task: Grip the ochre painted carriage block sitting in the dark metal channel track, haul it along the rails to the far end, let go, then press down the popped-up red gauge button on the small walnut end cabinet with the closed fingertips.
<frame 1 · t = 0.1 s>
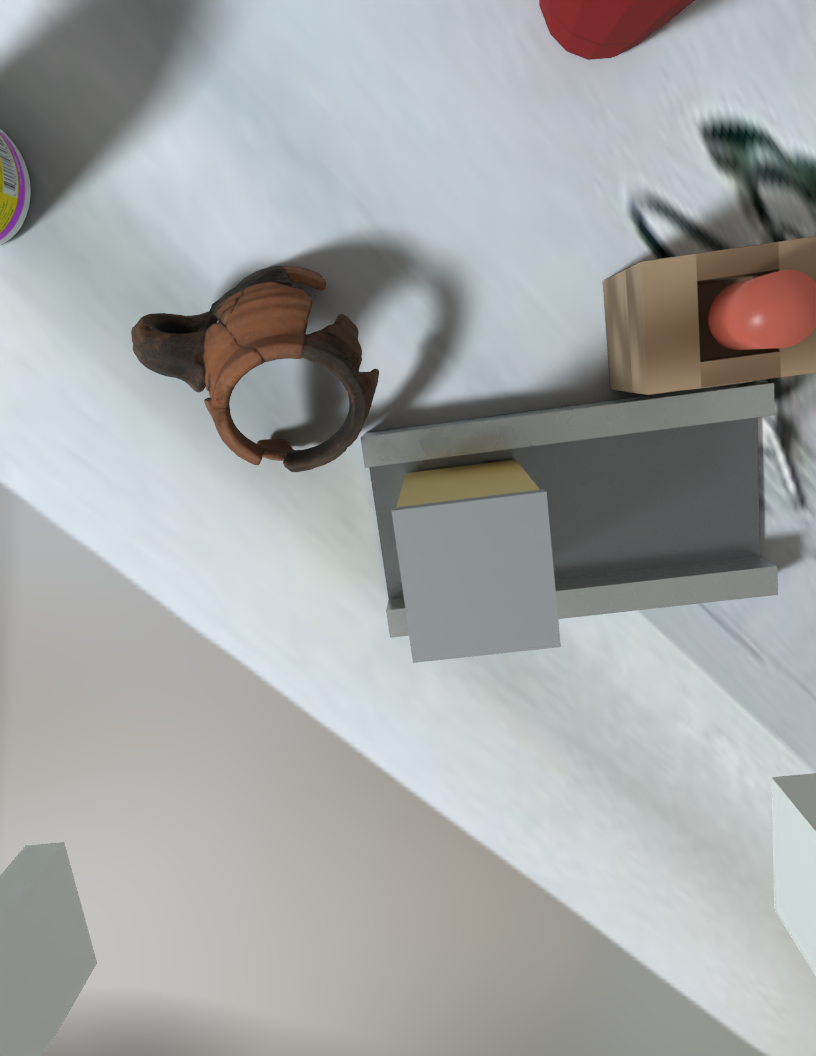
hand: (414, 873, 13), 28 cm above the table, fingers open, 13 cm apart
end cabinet: (683, 325, 37), on the table
gauge button: (761, 312, 28), point 9 cm above the table, slide at 0.0 cm
track: (563, 508, 39), on the table
carriage: (471, 547, 34), point 6 cm above the table, slide at 0.0 cm
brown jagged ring: (274, 360, 38), on the table
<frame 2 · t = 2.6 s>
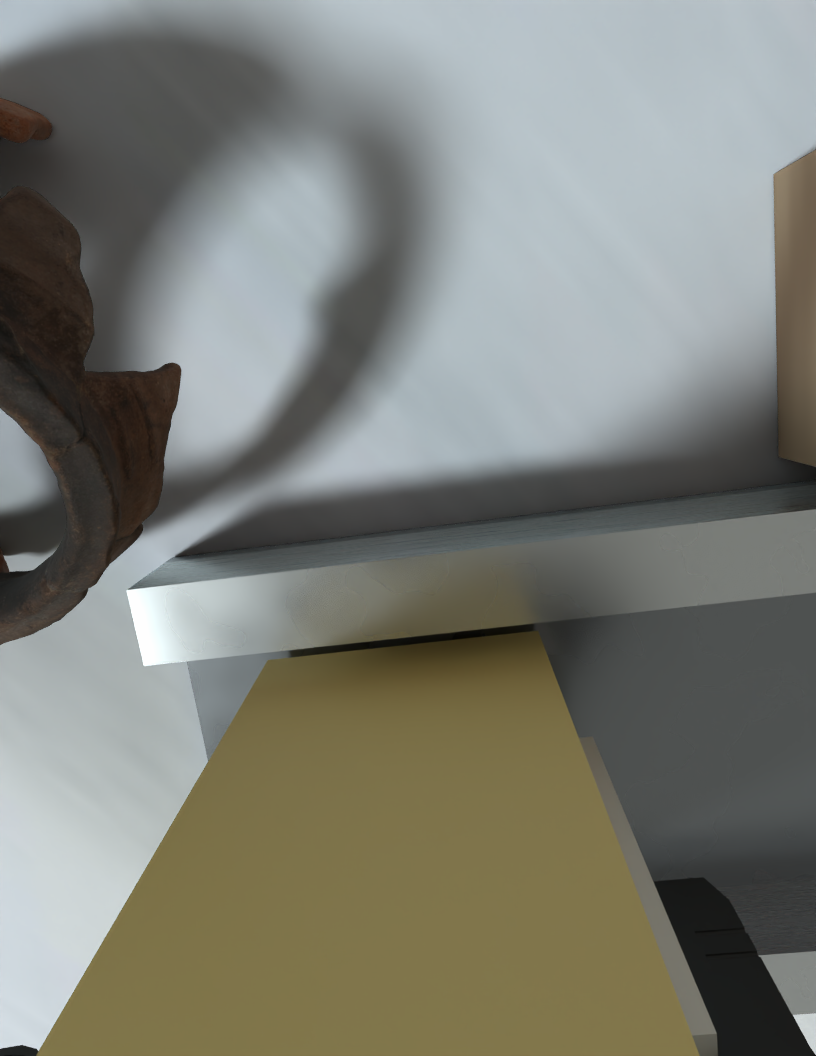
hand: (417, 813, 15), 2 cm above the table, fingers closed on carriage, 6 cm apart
track: (652, 734, 16), on the table
carriage: (410, 968, 11), point 6 cm above the table, slide at 0.0 cm, touching gripper
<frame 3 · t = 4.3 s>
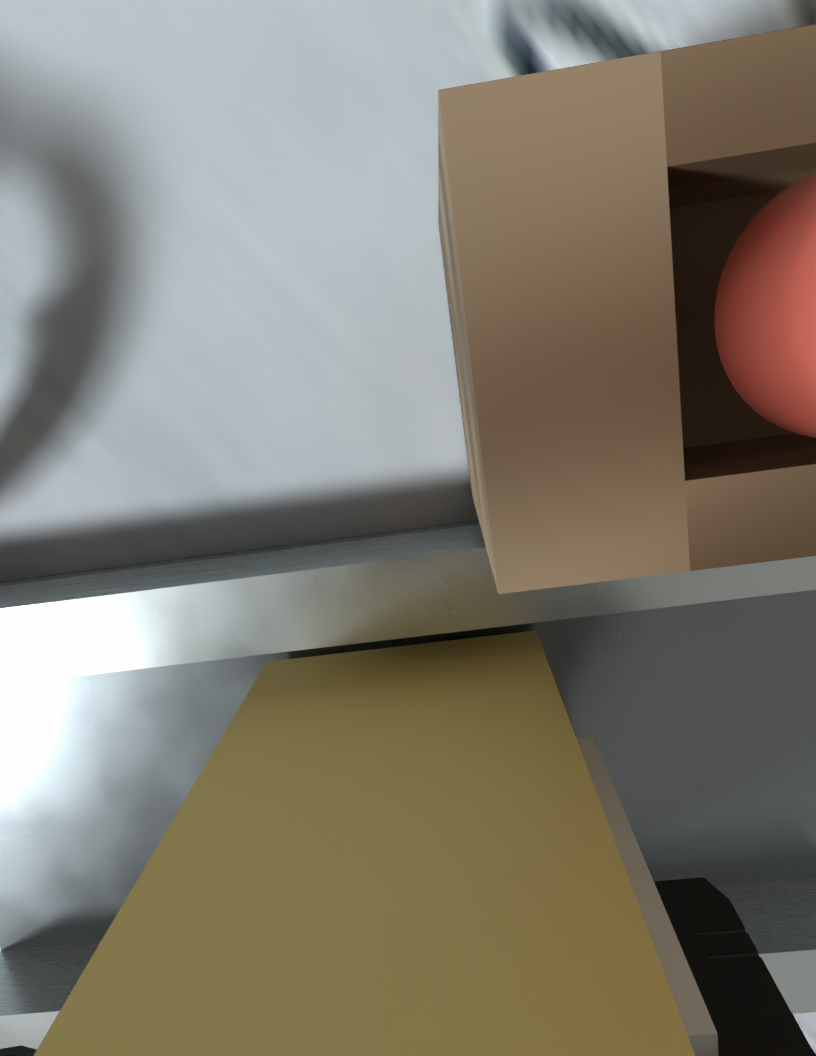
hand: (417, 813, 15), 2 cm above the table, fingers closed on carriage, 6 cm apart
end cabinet: (647, 337, 14), on the table
track: (379, 761, 17), on the table
carriage: (409, 968, 11), point 6 cm above the table, slide at 6.5 cm, touching gripper
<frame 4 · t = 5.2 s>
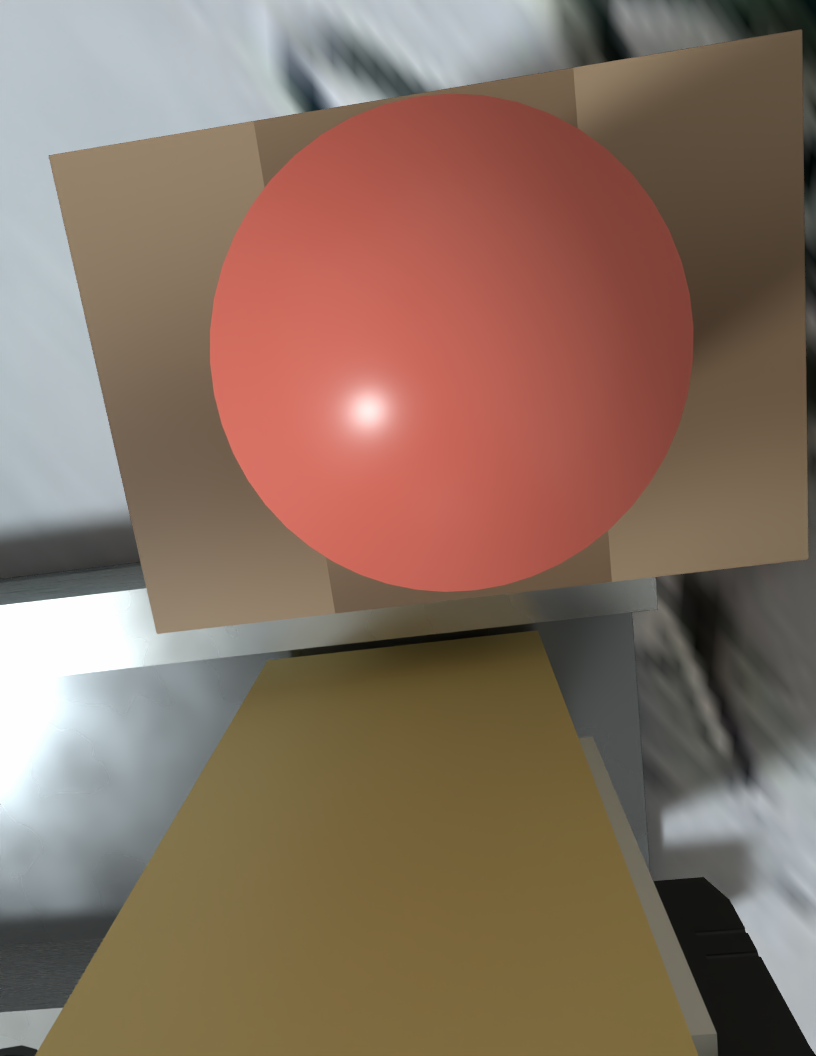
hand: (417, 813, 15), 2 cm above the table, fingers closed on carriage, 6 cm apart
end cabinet: (441, 367, 15), on the table
gauge button: (445, 364, 6), point 9 cm above the table, slide at 0.0 cm
track: (204, 777, 17), on the table
carriage: (410, 968, 11), point 6 cm above the table, slide at 10.9 cm, touching gripper
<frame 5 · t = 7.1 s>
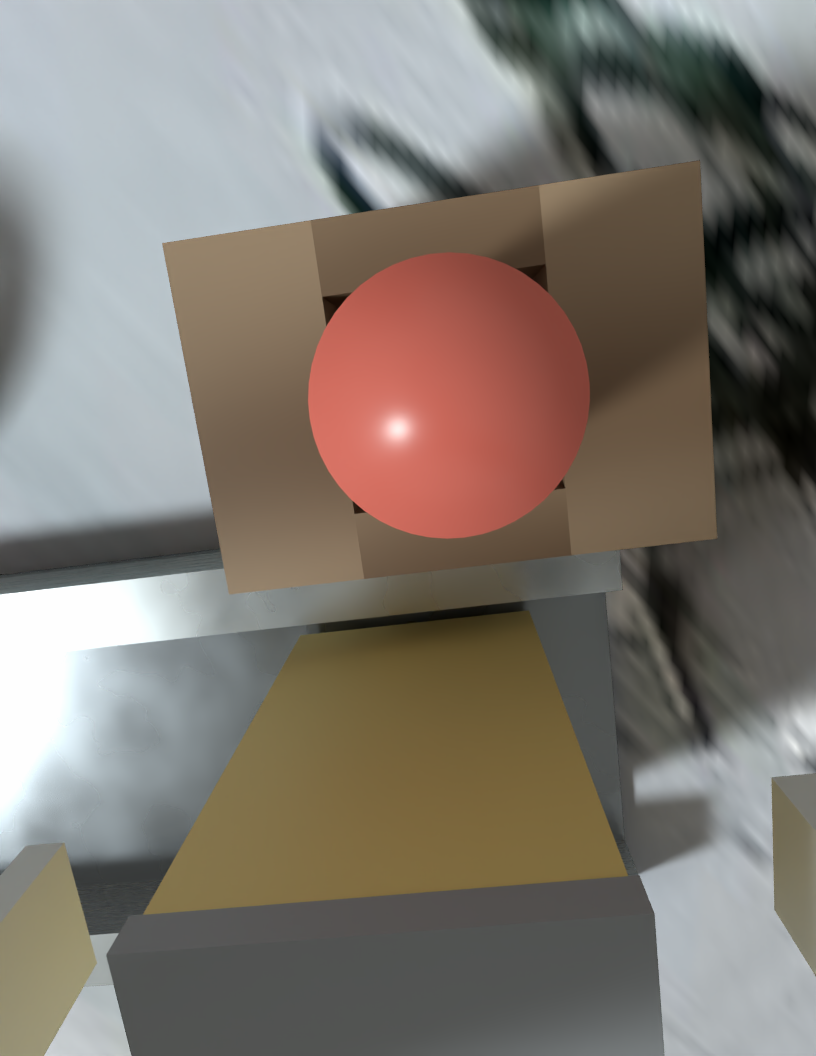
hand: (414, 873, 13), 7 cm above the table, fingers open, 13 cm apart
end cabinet: (445, 389, 18), on the table
gauge button: (446, 397, 9), point 9 cm above the table, slide at 0.0 cm
track: (239, 739, 20), on the table
carriage: (423, 869, 14), point 6 cm above the table, slide at 11.0 cm
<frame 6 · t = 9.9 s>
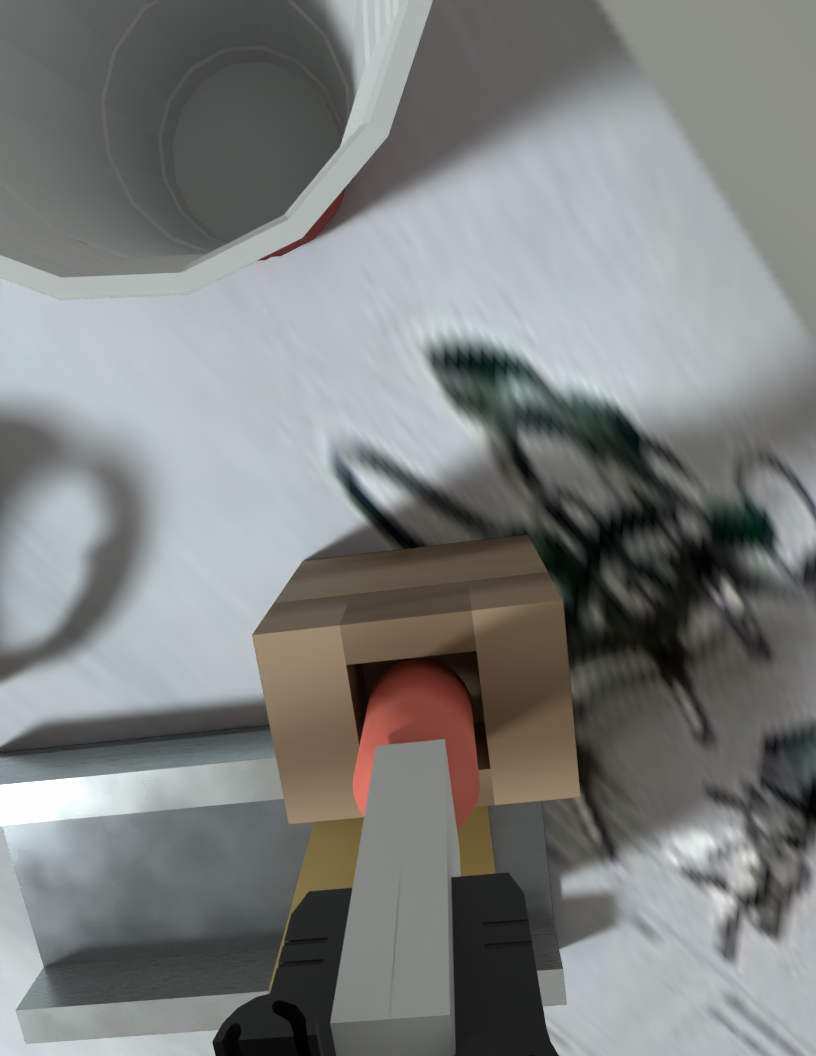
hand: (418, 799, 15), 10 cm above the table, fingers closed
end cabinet: (423, 622, 25), on the table
gauge button: (418, 742, 17), point 8 cm above the table, slide at 0.9 cm, touching gripper
plastic cup: (266, 157, 22), on the table
track: (277, 854, 28), on the table
carriage: (407, 974, 21), point 6 cm above the table, slide at 11.0 cm
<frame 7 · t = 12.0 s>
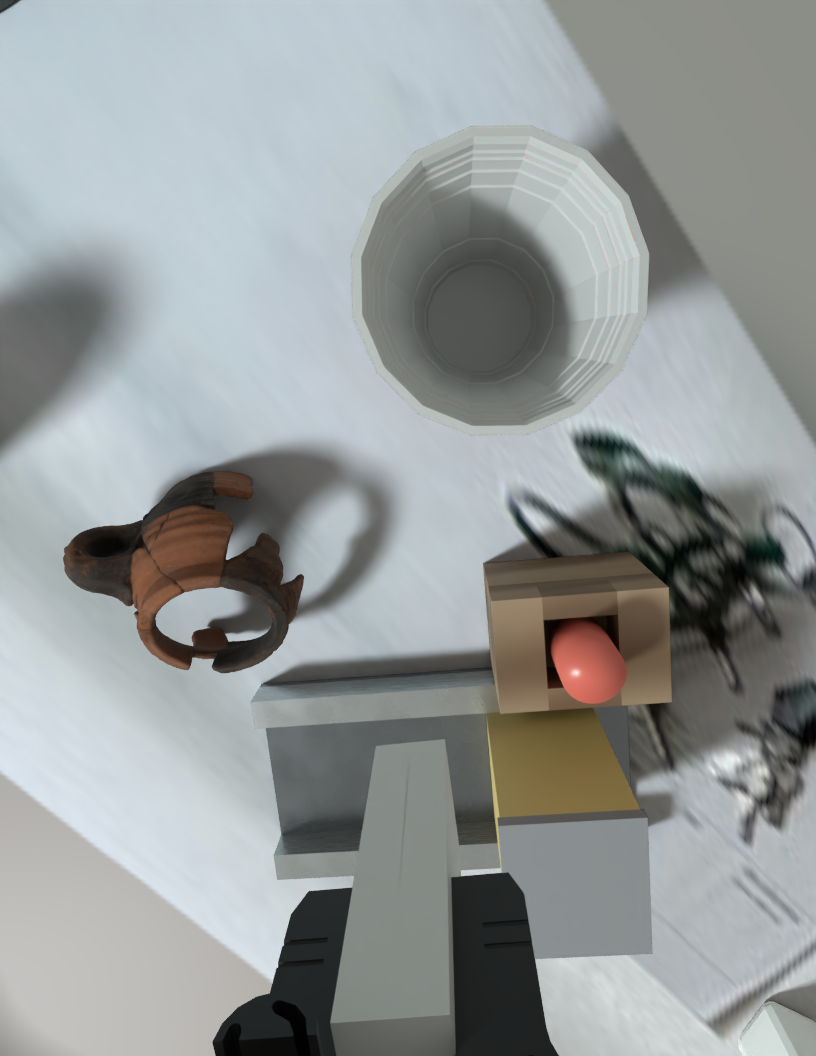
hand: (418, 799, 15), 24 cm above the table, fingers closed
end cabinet: (558, 605, 39), on the table
gauge button: (584, 657, 32), point 8 cm above the table, slide at 1.5 cm
plastic cup: (482, 317, 37), on the table
pepper shaker: (774, 1026, 44), on the table
track: (447, 759, 41), on the table
carriage: (556, 816, 35), point 6 cm above the table, slide at 11.0 cm
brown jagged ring: (209, 554, 40), on the table
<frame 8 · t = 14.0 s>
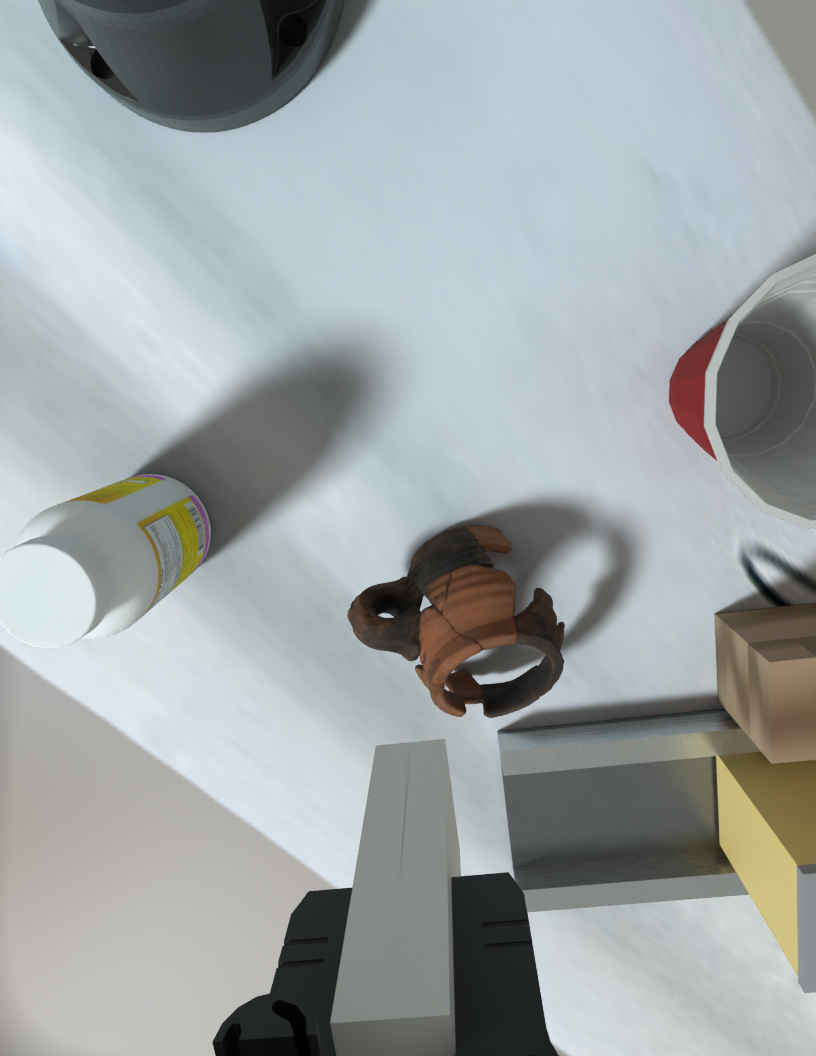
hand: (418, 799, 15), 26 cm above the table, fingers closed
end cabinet: (784, 650, 42), on the table
supplement bottle: (161, 526, 42), on the table
plastic cup: (722, 385, 39), on the table
track: (673, 795, 44), on the table
carriage: (812, 853, 38), point 6 cm above the table, slide at 11.0 cm
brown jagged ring: (455, 602, 42), on the table
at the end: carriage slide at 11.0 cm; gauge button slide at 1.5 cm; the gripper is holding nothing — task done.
